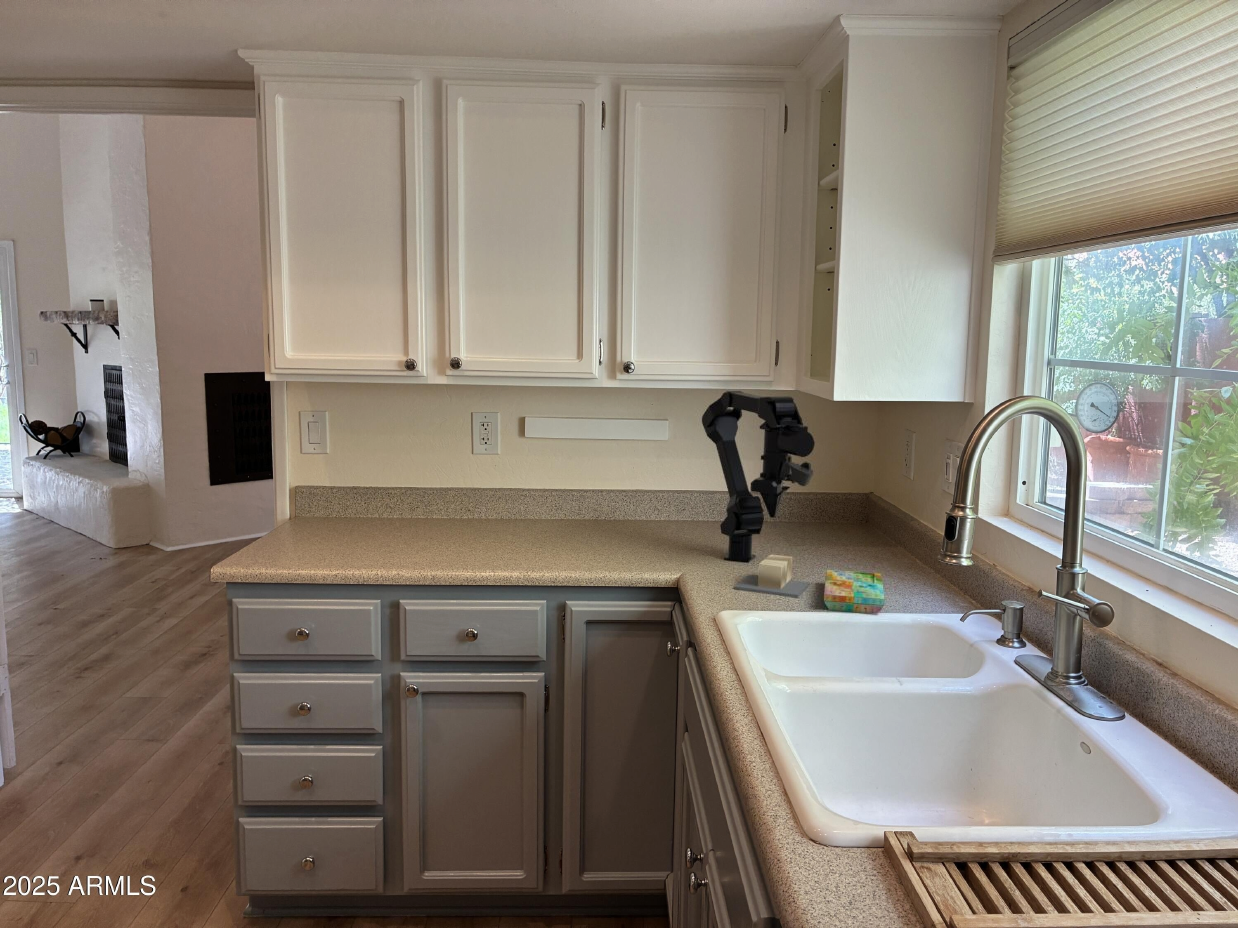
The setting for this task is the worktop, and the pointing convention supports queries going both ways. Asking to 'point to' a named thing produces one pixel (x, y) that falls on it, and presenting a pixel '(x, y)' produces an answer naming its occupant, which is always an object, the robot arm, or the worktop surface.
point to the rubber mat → (788, 589)
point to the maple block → (775, 571)
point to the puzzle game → (853, 591)
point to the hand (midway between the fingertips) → (772, 517)
